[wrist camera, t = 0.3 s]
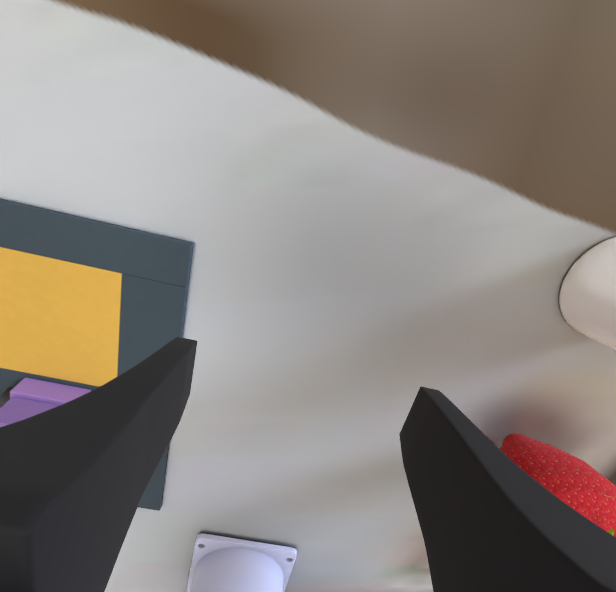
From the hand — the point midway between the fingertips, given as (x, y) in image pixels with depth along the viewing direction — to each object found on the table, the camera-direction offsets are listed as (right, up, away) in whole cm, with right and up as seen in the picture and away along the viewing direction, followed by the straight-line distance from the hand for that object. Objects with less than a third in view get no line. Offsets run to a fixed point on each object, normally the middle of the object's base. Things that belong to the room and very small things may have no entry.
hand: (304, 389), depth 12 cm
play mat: (-15, -2, +12) cm, 19 cm away
